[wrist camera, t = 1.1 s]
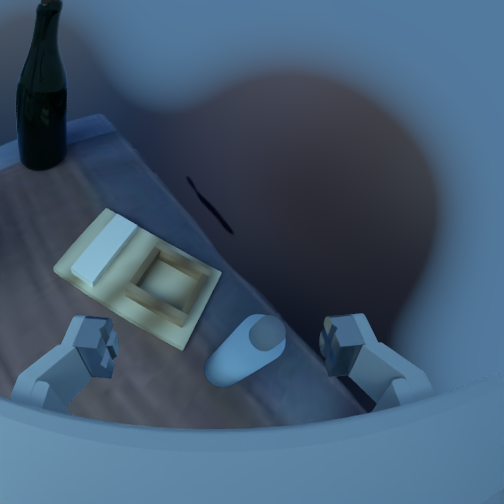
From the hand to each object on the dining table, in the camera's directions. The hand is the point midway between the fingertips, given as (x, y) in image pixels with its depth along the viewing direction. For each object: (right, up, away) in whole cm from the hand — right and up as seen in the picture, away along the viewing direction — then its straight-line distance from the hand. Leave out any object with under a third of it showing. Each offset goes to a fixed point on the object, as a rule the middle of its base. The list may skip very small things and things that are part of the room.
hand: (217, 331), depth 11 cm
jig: (-16, 0, +32) cm, 36 cm away
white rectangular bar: (-20, +3, +31) cm, 37 cm away
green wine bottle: (-40, +22, +37) cm, 59 cm away
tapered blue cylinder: (-3, -13, +29) cm, 32 cm away
